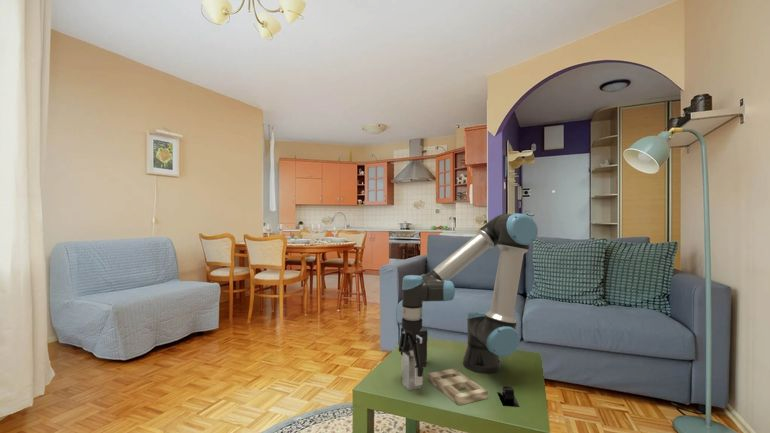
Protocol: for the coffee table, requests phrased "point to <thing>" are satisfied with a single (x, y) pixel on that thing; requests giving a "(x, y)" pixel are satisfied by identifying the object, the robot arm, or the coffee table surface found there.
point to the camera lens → (424, 334)
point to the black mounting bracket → (508, 397)
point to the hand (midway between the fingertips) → (411, 378)
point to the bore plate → (457, 386)
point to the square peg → (409, 370)
